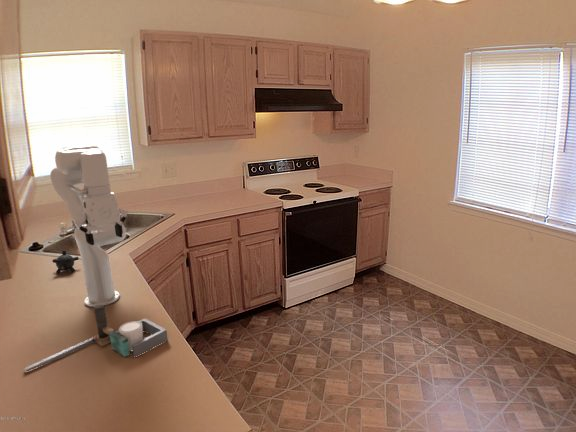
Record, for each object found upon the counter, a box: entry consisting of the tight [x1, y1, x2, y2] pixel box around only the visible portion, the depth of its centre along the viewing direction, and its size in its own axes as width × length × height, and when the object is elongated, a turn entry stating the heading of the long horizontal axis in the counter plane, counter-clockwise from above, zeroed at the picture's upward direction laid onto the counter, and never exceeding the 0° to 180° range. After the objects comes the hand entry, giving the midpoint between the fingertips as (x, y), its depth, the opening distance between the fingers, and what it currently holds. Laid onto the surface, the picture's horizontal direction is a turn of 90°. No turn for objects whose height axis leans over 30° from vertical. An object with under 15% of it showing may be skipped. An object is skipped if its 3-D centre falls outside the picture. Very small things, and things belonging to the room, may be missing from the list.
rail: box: [23, 336, 96, 372], centre depth 122 cm, size 1×24×1 cm, turn 141°
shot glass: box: [118, 320, 144, 352], centre depth 124 cm, size 7×7×7 cm
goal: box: [116, 318, 169, 358], centre depth 126 cm, size 12×11×4 cm
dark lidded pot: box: [52, 249, 79, 275], centre depth 185 cm, size 11×11×12 cm
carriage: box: [93, 305, 130, 358], centre depth 122 cm, size 16×4×12 cm, turn 51°
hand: (105, 240), depth 133 cm, fingers open, 9 cm apart
